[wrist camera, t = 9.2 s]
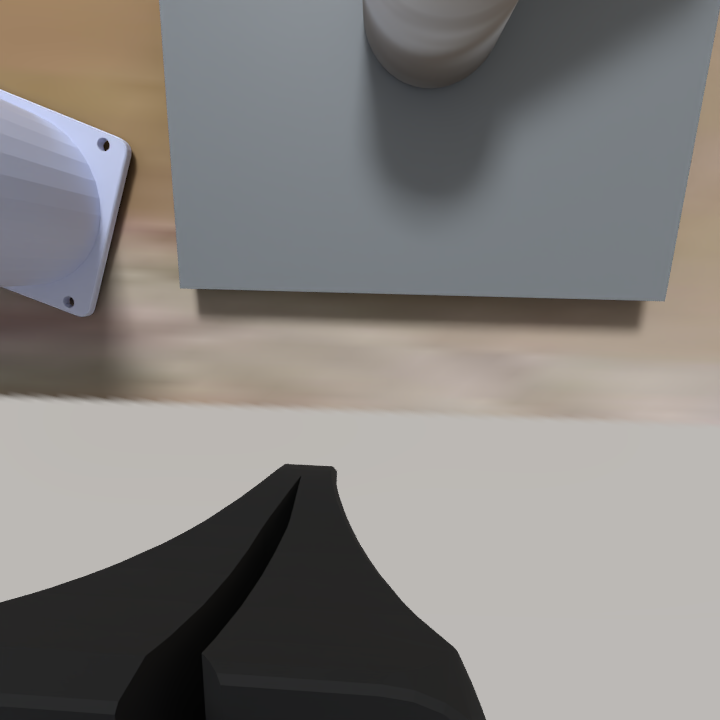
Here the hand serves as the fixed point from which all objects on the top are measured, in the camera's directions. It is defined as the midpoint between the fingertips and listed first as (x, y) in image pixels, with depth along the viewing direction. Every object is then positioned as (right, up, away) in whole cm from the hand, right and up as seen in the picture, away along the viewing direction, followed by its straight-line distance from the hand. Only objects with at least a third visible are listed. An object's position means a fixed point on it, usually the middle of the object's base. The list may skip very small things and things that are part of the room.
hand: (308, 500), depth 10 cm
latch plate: (+4, +16, +6) cm, 18 cm away
